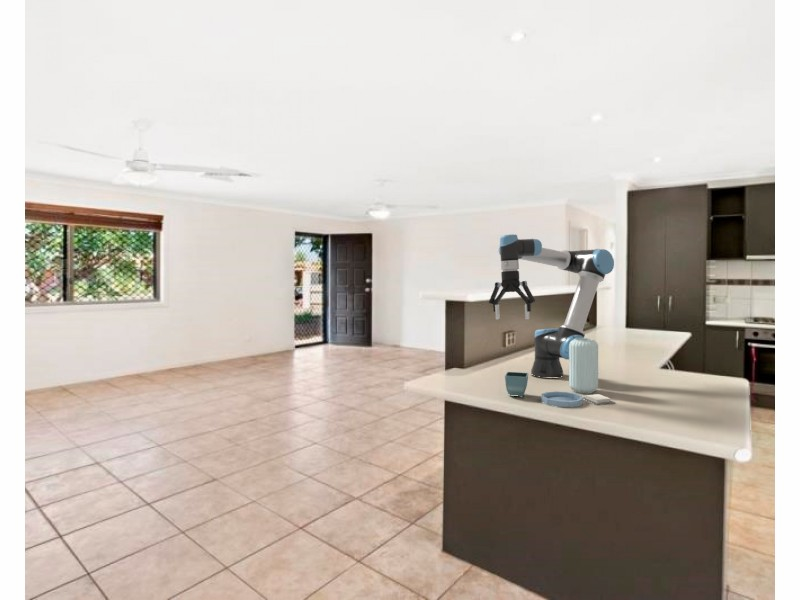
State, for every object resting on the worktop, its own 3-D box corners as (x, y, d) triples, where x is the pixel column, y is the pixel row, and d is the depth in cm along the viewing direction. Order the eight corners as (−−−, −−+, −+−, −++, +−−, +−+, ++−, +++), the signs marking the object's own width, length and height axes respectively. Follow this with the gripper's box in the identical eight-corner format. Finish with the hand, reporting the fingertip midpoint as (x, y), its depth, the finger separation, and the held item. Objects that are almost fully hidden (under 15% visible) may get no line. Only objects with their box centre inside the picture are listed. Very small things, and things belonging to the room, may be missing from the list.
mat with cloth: (581, 398, 190) (581, 394, 190) (598, 396, 192) (598, 393, 192) (597, 405, 181) (597, 401, 181) (615, 403, 183) (615, 399, 182)
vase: (584, 395, 194) (584, 342, 193) (563, 390, 204) (563, 338, 203) (604, 392, 199) (604, 339, 198) (582, 386, 210) (582, 336, 208)
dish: (534, 398, 192) (534, 393, 191) (567, 395, 195) (567, 390, 195) (555, 408, 177) (555, 402, 177) (591, 405, 180) (591, 399, 180)
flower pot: (528, 393, 199) (528, 372, 199) (527, 399, 191) (526, 377, 191) (507, 392, 202) (507, 371, 202) (504, 397, 194) (504, 375, 194)
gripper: (480, 272, 210) (482, 320, 211) (535, 268, 196) (537, 320, 197) (487, 272, 217) (489, 318, 217) (541, 268, 202) (543, 318, 203)
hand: (512, 319), depth 207 cm, fingers open, 13 cm apart
